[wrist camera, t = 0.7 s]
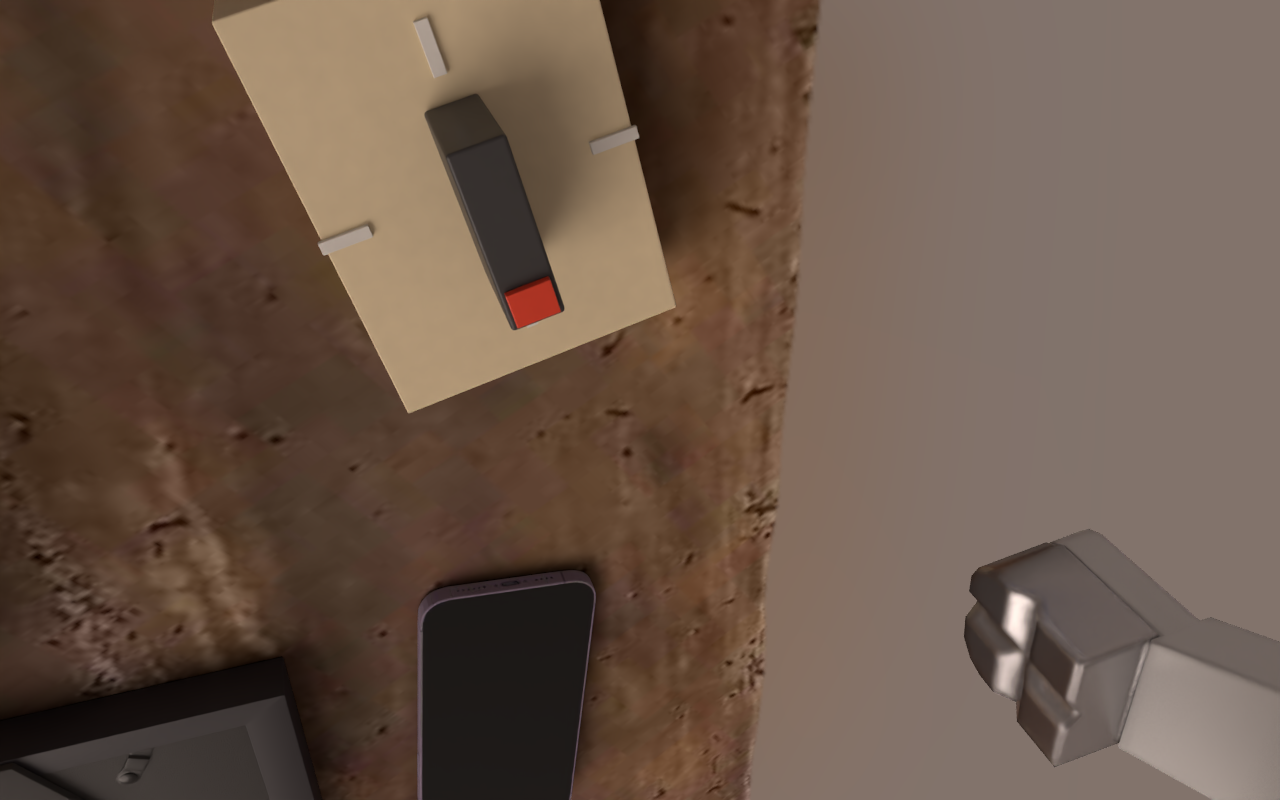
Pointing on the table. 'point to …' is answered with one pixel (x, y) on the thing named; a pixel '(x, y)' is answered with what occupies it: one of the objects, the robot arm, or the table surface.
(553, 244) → the plate
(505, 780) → the smartphone
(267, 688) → the picture frame
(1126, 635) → the robot arm
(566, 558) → the table surface
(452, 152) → the black red-tipped block
